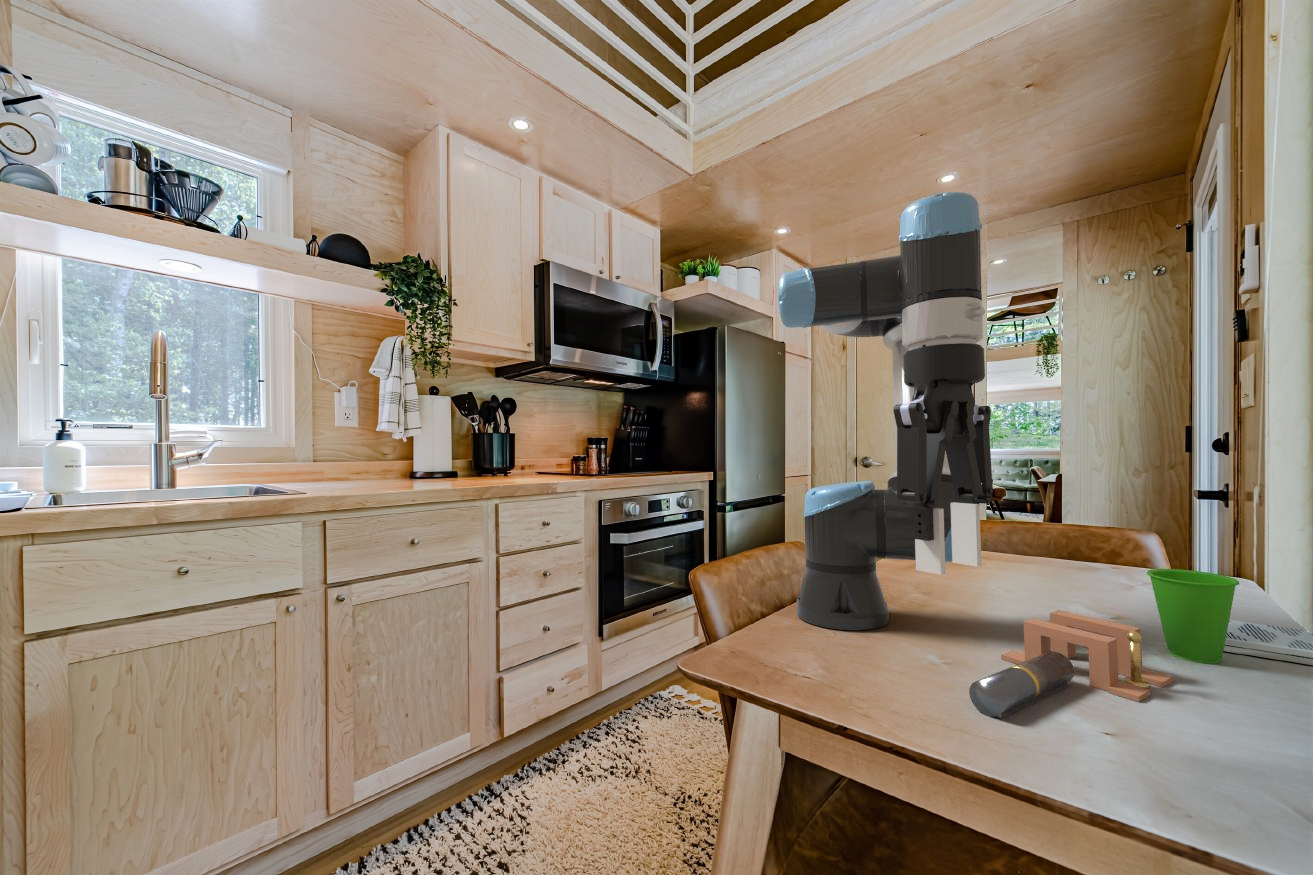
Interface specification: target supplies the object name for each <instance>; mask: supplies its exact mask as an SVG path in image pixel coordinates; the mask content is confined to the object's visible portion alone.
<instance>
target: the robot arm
mask: <svg viewBox="0 0 1313 875" xmlns="http://www.w3.org/2000/svg"><path fill="white" fill-rule="evenodd" d="M979 209H980V208H979V202H978V200H977V198H976V197H974V196H973V195H972V194H970V193H967V192H962V191H947V192H942V193H936V194H932V195H929V196H926V197H923V198H922V197H921V198H919V199H918V200H915V201H914V202H913V203H911V204H909V205H908V206H907V207H906V208H905V209H904V210H903V211H902V213H901V215H900V220H899V235H898V241H899V246H900V247H899V248H900V249H899V255H894V256H887V257H879V258H873V259H867V260H861V261H854V262H848V263H841V264H834V265H833V264H832V265H826V266H818V267H810V268H808V267H803V268H800V269H799V270H792V271H791V270H790V271H788V272H785V273H783V274H782V275H781V276H780V278H779V281H778V289H777V297H778V298H777V299H778V301H777V302H778V310H779V311H778V312H779V315H780V320H781V323H782V324H783V326H785V328H809V327H816V326H818V327H819V328H820V329H822V330H823V331H824V332H826V333H829V334H833V335H838V336H845V337H850V338H851V337H852V338H874V337H882V342H883V345H884V346H885V347H886V348H887V349H889V350H891V352H892V353H891V354H892V355H891V356H892V375H893V376H892V377H893V378H892V379H893V380H892V381H893V383H892V384H893V403H894V404H893V405H894V406H893V410H892V412H893V415H894V433H895V434H894V435H895V437H894V438H895V439H894V440H895V463H896V470H895V472H893V473H892V474H891V475H890V476H889V477H888V478H887V482H886V483H887V488H886V489H876V488H875V487H876V486H875V484H874V482H873V481H872V480H864V481H863V480H862V481H851V482H850V481H849V482H841V483H832V484H825V485H820V486H816V487H813V488H810V489H809V490H807V492H806V494H805V496H804V509H803V510H804V511H803V512H804V513H803V515H802V516H803V517H804V538H805V539H804V540H805V543H804V544H805V546H804V547H805V548H804V549H805V572H804V577H803V579H802V584H801V585H800V586H801V587H800V591H799V595H798V596H797V599H796V616H797V617H798V618H799V619H801V620H802V621H804V622H806V623H809V624H811V625H813V626H814V625H815V626H818V627H822V628H827V629H834V630H843V631H866V630H867V631H868V630H874V629H878V628H879V629H880V628H882V627H884V626H886V625H887V624H888V623H889V621H890V620H889V616H890V615H889V606H888V604H887V602H886V600H885V597H884V594H883V591H882V588H881V584H880V581H879V578H878V575H877V559H883V560H884V559H885V560H900V561H901V560H902V561H915V570H916V571H920V572H924V573H929V574H934V575H939V576H942V575H946V563H953V564H959V565H964V566H971V567H977V568H978V567H982V541H981V540H982V539H981V538H982V537H981V511H980V510H981V508H980V507H981V506H980V504H986V505H988V504H990V503H991V501H992V495H993V492H994V489H993V472H992V458H991V456H992V455H991V441H990V437H991V436H990V423H991V416H992V415H991V414H992V408H991V406H990V405H981V406H979V405H978V404H977V403H976V400H975V397H974V394H973V388H972V387H973V385H974V384H978V383H981V382H982V381H983V380H984V379H985V378H986V369H985V368H986V364H985V348H984V347H982V345H981V344H978V342H979V343H980V342H981V340H982V339H984V330H983V329H984V327H983V326H984V325H983V321H984V320H983V316H984V315H985V313H986V309H985V308H984V306H983V303H982V302H983V295H982V257H981V256H982V255H981V254H982V251H981V248H982V246H981V245H982V244H981V230H982V229H983V224H982V223H981V222H980V210H979Z"/></svg>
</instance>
